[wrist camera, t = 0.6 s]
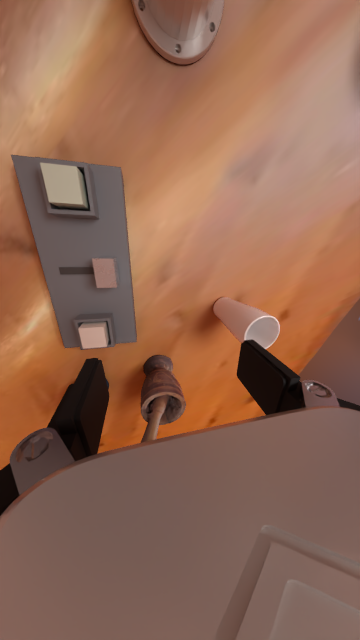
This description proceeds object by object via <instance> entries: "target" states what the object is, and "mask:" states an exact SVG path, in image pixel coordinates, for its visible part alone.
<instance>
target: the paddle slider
mask: <svg viewBox="0 0 360 640" xmlns="http://www.w3.org/2000/svg"><path fill="white" fill-rule="evenodd" d="M92 262H93V268H94V274H95V280H96V286H97V288H117V286H118V285H119V283H120V282H119V273H118V265H117V258H92Z"/></svg>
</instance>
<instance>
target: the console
mask: <svg viewBox="0 0 360 640" xmlns="http://www.w3.org/2000/svg"><path fill="white" fill-rule="evenodd" d="M11 156H12V160H13V163H14V167H15V171H16V174H17V178H18V181H19V185H20V189H21V192H22V196H23V199H24V203H25V207H26V210H27V214H28V217H29V221H30V225H31V228H32V232H33V235H34V239H35V243H36V246H37V250H38V254H39V257H40V261H41V264H42V268H43V272H44V275H45V279H46V282H47V286H48V290H49V293H50V297H51V300H52V304H53V308H54V311H55V315H56V318H57V322H58V326H59V329H60V333H61V336H62V340H63V344H64V347H65V348H71V347H80V349H81V350H84V349H83V347H82V343H81V338H80V334H79V330H78V328H79V327H80V326H81V324H82V323H83V322H96V321H107V326H108V332H109V342H108V345H107V347H114V346H115V344H118V343H130V342H136V340H137V333H136V322H135V311H134V299H133V288H132V276H131V265H130V254H129V242H128V231H127V219H126V208H125V197H124V185H123V175H122V171H121V167H113V166H104V165H96V164H88V163H83V162H74V161H65V160H57V159H48V158H40V157H27V156H18V155H11ZM40 163H49V164H58V165H67V166H76V167H77V168H78V169H79V170H80V172H81V173H82V174H83V176H84V180H85V186H86V192H87V199H88V205H89V209H74V208H59V207H57V206H55V205H54V204H52V203H50V202H49V200H48V195H47V191H46V187H45V183H44V178H43V174H42V170H41V165H40ZM92 258H117V265H118V273H119V282H120V283H119V285H118V286H117V288H97V286H96V280H95V274H94V268H93V262H92ZM99 348H106V347H99ZM87 349H95V348H87Z"/></svg>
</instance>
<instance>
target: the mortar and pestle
mask: <svg viewBox="0 0 360 640" xmlns="http://www.w3.org/2000/svg"><path fill="white" fill-rule="evenodd" d="M172 369H173V364H172V361H171V359H170V358H168V357H166V356H162V355H156V356H152V357H151V358H149V359H148V360H147V362H146V363H145V365H144V373H145V374H146V376H147V377H146V379H145V381H144V384H143V387H142V391H141V414H142V416H143V418H144V420H145V421H146V422H148V425H147V427H146V430H145V433H144V436H143V438H142V440H141V443H143V442H147V441H151V440H156V436H157V431H158V426H159V425H164V424H167V423H171V422H173V421H175V420H177V419H178V418H179V417H180V416H181V415H182V414H183V412H184V410H185V406H186V402H185V400H184V396H183V393H182V390H181V387H180V384H179V383H178V381H177V380H176V378H175V376H174V374H173V373H172Z"/></svg>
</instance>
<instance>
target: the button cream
mask: <svg viewBox="0 0 360 640" xmlns="http://www.w3.org/2000/svg"><path fill="white" fill-rule="evenodd" d="M78 330H79V334H80V338H81V343H82V347H83V349H87V348H99V347H107V345H108V342H109V332H108V326H107V321H96V322H83V323H82V324H81V326H80V327H79V328H78Z"/></svg>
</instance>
